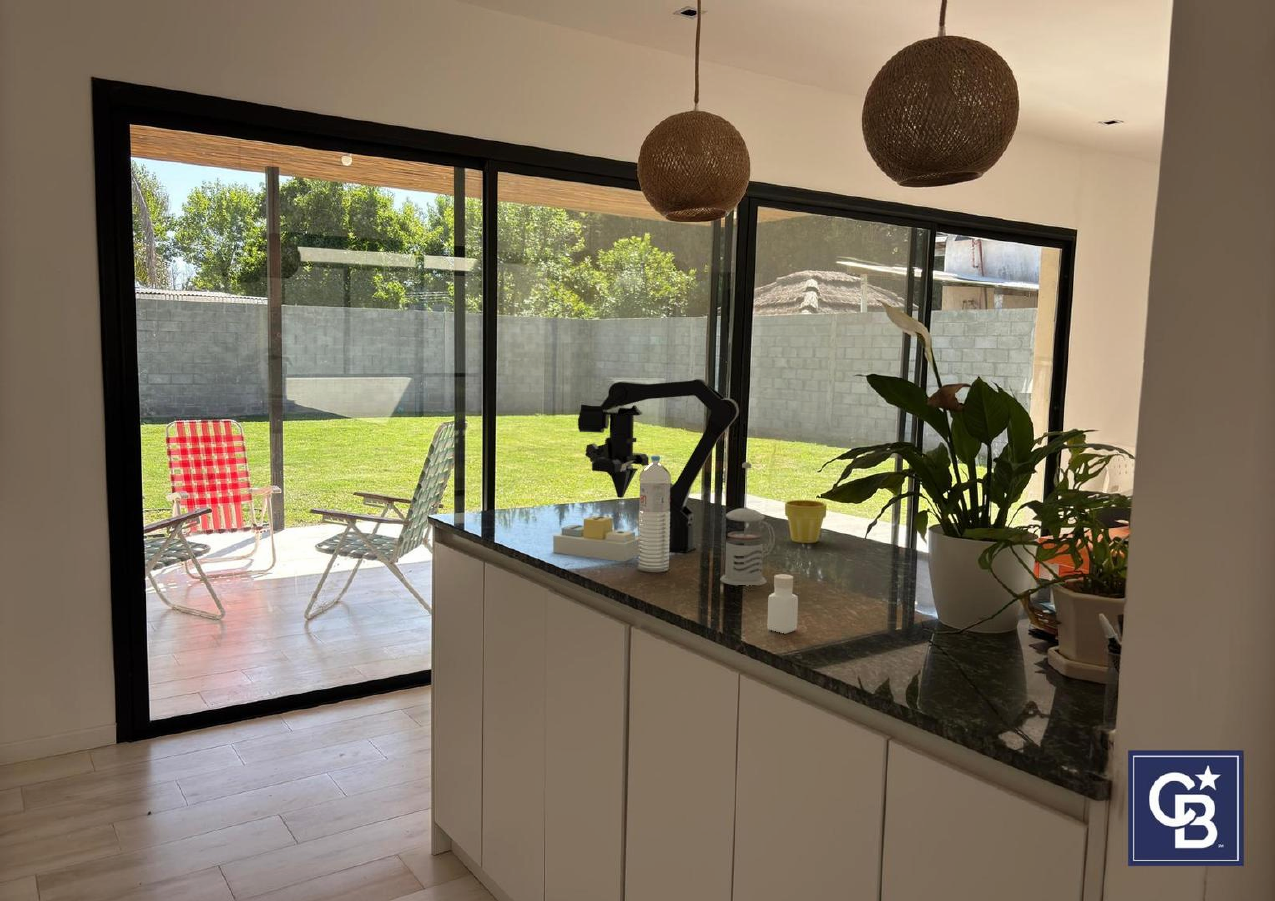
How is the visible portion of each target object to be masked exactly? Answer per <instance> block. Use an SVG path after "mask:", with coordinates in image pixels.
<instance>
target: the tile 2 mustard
mask: <svg viewBox="0 0 1275 901" xmlns="http://www.w3.org/2000/svg"><path fill="white" fill-rule="evenodd" d="M613 519H614V517H608V516H597V515H593V516H589V517H586V518H583V526H584V529H583V538H591V539H599V540H604V539H606V533H608V532H611V531H614V530H613V529H614V528H613V524H614V521H613Z"/></svg>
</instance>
